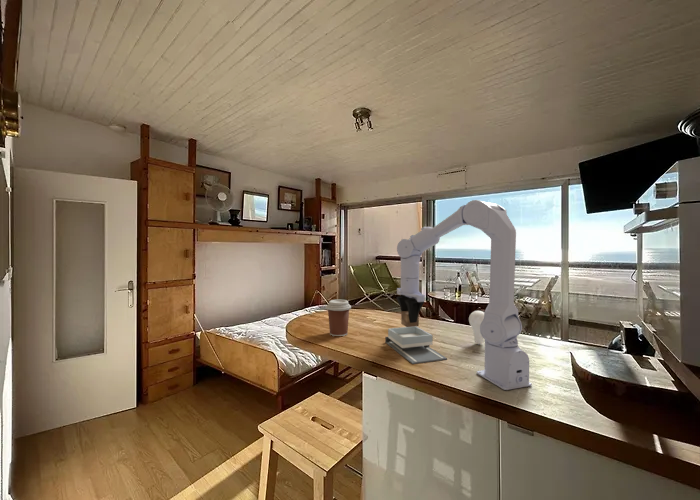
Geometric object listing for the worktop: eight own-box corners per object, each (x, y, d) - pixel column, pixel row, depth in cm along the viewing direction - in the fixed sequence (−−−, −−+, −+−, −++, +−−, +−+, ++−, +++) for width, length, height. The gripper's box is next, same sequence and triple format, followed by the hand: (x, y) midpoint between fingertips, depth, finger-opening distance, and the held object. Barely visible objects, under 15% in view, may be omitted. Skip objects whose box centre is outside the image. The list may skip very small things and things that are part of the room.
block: (418, 326, 94) (418, 313, 94) (407, 327, 93) (407, 314, 93) (412, 322, 98) (412, 310, 98) (401, 323, 97) (401, 311, 97)
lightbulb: (491, 348, 95) (491, 313, 94) (470, 346, 96) (470, 312, 96) (486, 341, 101) (486, 309, 100) (467, 340, 102) (467, 308, 102)
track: (447, 359, 86) (447, 352, 86) (412, 364, 82) (412, 357, 82) (414, 339, 103) (414, 333, 103) (385, 342, 100) (385, 336, 100)
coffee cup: (322, 336, 106) (322, 302, 106) (331, 329, 115) (331, 298, 115) (346, 339, 104) (346, 304, 103) (354, 331, 113) (354, 299, 112)
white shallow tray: (432, 348, 92) (432, 335, 92) (402, 352, 89) (402, 338, 89) (415, 338, 102) (415, 326, 102) (388, 341, 99) (388, 328, 99)
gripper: (388, 275, 101) (388, 315, 101) (409, 280, 87) (409, 327, 87) (407, 274, 103) (407, 314, 103) (430, 280, 89) (430, 325, 89)
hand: (409, 320), depth 95 cm, fingers closed on block, 4 cm apart
